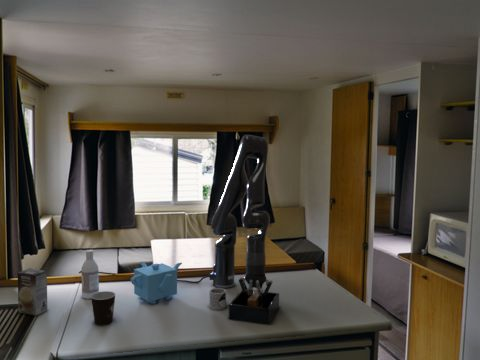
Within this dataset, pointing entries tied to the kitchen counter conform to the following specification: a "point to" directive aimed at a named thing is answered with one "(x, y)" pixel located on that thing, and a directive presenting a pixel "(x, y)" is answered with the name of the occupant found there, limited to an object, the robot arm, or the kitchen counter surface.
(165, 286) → the teakettle
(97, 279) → the bath foam
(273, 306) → the black open box
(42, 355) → the kitchen counter surface
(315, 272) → the kitchen counter surface
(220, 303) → the mug
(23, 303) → the coffee box
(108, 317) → the coffee mug
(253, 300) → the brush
